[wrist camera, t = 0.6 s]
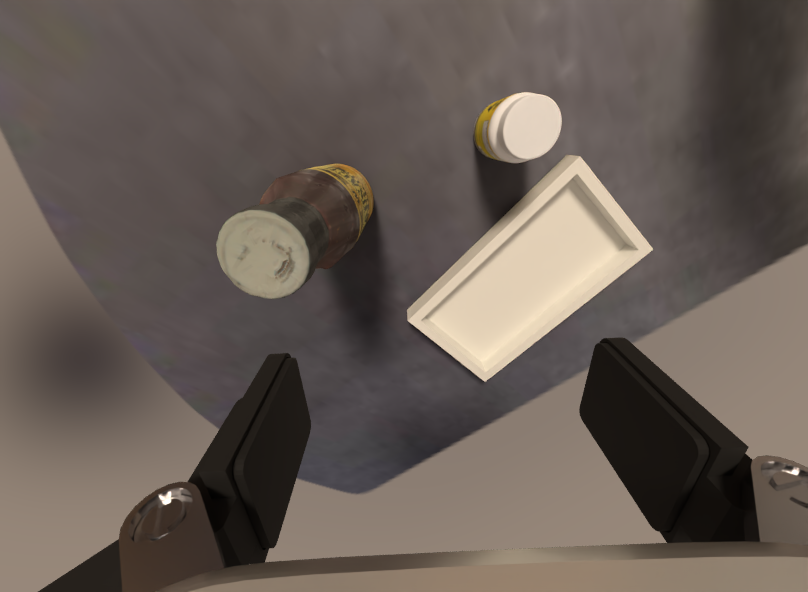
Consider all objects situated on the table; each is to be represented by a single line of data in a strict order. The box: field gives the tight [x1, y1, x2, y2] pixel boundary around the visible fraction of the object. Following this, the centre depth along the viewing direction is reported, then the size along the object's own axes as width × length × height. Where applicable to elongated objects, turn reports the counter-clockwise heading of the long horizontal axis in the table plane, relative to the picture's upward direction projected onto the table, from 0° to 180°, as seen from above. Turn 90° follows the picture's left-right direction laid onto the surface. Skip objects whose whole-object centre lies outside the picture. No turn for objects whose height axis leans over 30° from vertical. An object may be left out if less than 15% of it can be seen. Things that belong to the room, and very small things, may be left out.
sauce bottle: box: [216, 164, 373, 299], centre depth 23 cm, size 7×6×20 cm
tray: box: [407, 155, 653, 382], centre depth 35 cm, size 22×12×2 cm, turn 137°
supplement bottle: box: [474, 92, 562, 163], centre depth 26 cm, size 5×5×8 cm
